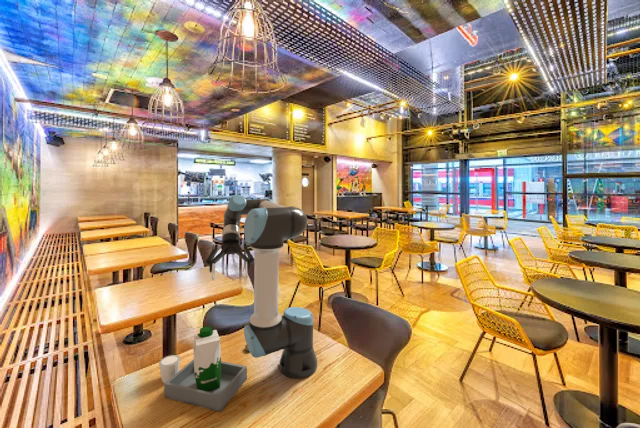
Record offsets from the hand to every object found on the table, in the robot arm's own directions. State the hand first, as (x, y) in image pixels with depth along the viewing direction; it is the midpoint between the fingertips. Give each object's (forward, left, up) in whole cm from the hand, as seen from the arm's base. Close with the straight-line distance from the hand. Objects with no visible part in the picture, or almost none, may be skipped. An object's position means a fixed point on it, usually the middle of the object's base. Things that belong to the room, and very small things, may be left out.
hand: (229, 277), depth 115 cm
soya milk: (-4, +20, -33) cm, 39 cm away
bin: (-4, +20, -34) cm, 40 cm away
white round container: (+13, +20, -34) cm, 42 cm away
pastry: (-8, -8, -34) cm, 36 cm away
